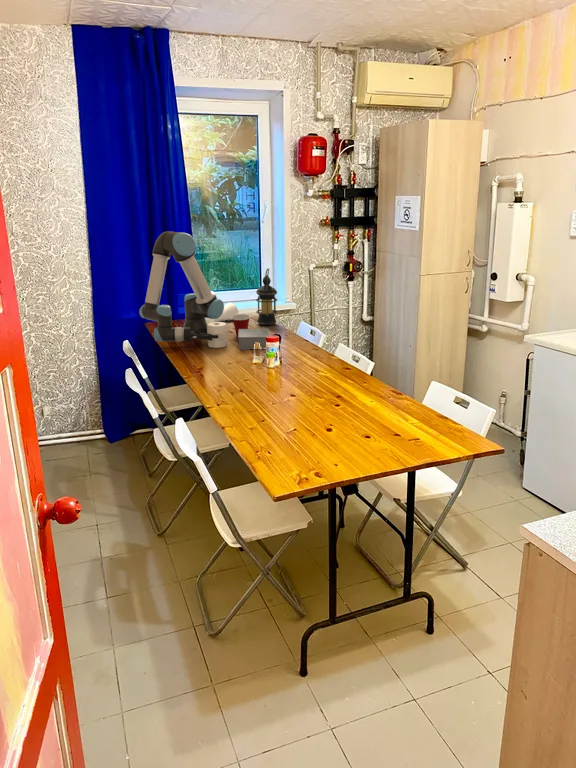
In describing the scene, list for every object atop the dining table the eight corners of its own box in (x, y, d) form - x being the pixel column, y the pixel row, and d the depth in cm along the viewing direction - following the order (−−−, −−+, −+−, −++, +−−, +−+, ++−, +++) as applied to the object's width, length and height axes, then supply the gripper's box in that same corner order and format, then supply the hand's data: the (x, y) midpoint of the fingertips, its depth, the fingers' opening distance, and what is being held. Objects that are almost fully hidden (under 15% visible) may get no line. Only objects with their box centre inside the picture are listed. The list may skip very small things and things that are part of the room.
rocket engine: (210, 309, 373) (230, 299, 384) (203, 318, 382) (223, 308, 393) (221, 324, 372) (241, 313, 383) (214, 332, 381) (234, 322, 392)
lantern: (255, 322, 382) (255, 266, 371) (276, 321, 383) (276, 266, 372) (257, 327, 369) (256, 270, 357) (278, 326, 370) (278, 269, 359)
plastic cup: (228, 337, 344) (228, 317, 340) (237, 333, 353) (236, 313, 350) (245, 339, 340) (245, 318, 336) (253, 335, 350) (253, 315, 346)
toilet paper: (219, 348, 320) (218, 326, 316) (204, 346, 325) (203, 324, 321) (230, 344, 328) (230, 323, 324) (215, 342, 334) (215, 320, 330)
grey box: (238, 341, 337) (238, 329, 334) (268, 340, 338) (268, 328, 335) (238, 349, 319) (238, 337, 317) (269, 349, 320) (269, 336, 318)
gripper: (185, 335, 335) (225, 335, 337) (182, 346, 314) (224, 345, 316) (185, 322, 333) (225, 322, 335) (181, 332, 312) (224, 332, 313)
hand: (224, 333), depth 325 cm, fingers closed on toilet paper, 10 cm apart
